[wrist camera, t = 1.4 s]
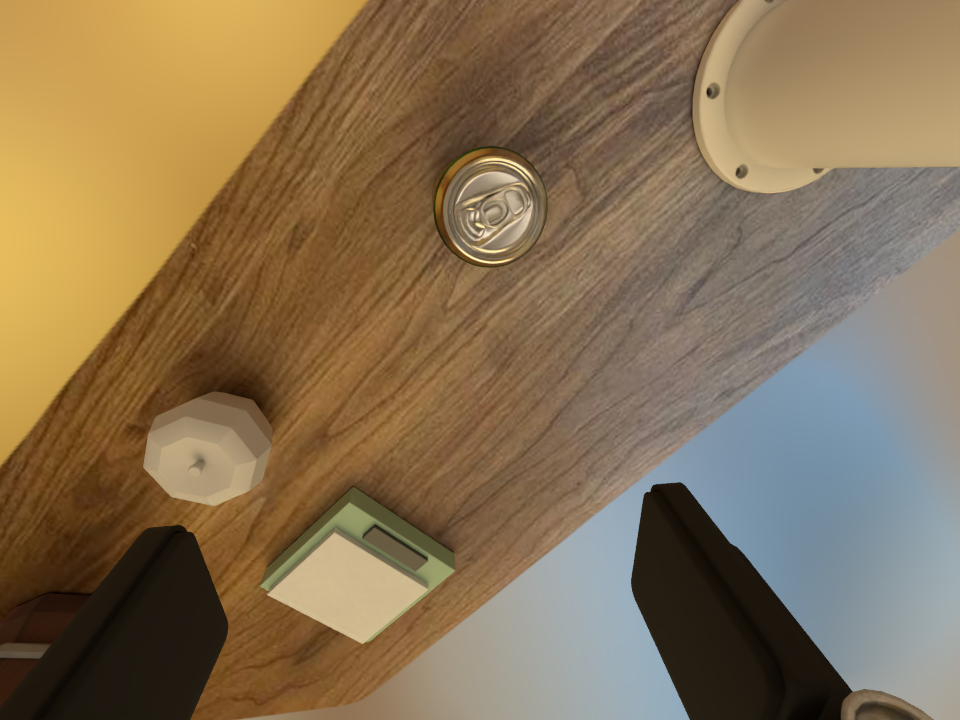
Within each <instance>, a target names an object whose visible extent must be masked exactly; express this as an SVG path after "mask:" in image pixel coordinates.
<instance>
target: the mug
mask: <svg viewBox="0 0 960 720" xmlns="http://www.w3.org/2000/svg"><path fill="white" fill-rule="evenodd" d="M89 597H90V595H69V594H48V593H47V594H45V595H43V596H41V597H38V598H36V599H34V600H31V601H29V602H27V603H25V604H22V605H20V606H18V607H16V608H13V609H11V610H10V611H9V612H8V613H7V614H6V615H5V616H4V618H3V619H2V620H1V621H0V707H1V706H2V705H3V703H4V702H5V701H6V700H7V699H8V697H9V696H10V695H11V694H12V692H13V691H14V690H15V689H16V687H17V686H18V685H19V684H20V683H21V681H22V680H23V679H24V678H25V676H26V675H27V674H28V673H29V671H30V670H31V669H32V668H33V666H34V665H35V664H36V663H37V662H38V660H39V659H40V658H41V657H42V655H43V654H44V653H45V652H46V650H47V649H48V648H49V647H50V645H51V644H52V643H53V642H54V641H55V639H56V638H57V637H58V636H59V634H60V633H61V632H62V631H63V629H64V628H65V627H66V626H67V625H68V623H69V622H70V621H71V620H72V618H73V617H74V616H75V615H76V613H77V612H78V611H79V610H80V608H81V607H82V606H83V605H84V604H85V602H86V601H87V600H88V599H89Z"/></svg>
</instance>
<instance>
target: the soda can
mask: <svg viewBox="0 0 960 720" xmlns="http://www.w3.org/2000/svg"><path fill="white" fill-rule="evenodd" d="M432 201H433V211H434V219H435V223H436V227H437V230H438V232H439V235H440V237H441V239H442V240H443V242H444V243H445V245H446V246H447V247H448V248H449V250H450V251H451V252H452V253H453V254H455V255H456V256H457V257H458V258H460V259H461V260H463V261H465V262H467V263H469V264H472V265H475V266H479V267H489V268H492V267H500V266H504V265H508V264H510V263H512V262H514V261H516V260H518V259H520V258H521V257H523V256H524V255H525V254H526V253H527V252H528V251H530V250H531V248H532V247H533V246H534V245H535V244H536V242H537V240H538V239H539V237H540V235H541V233H542V231H543V228H544V226H545V222H546V218H547V210H548V206H547V195H546V190H545V187H544V184H543V181H542V179H541V177H540V175H539V173H538V172H537V170H536V169H535V168H534V166H533V165H532V164H531V163H530V162H529V161H528V160H527V159H526V158H524V157H523V156H521V155H520V154H518V153H516V152H514V151H512V150H510V149H506V148H502V147H494V146H488V147H480V148H477V149H473V150H471V151H469V152H467V153H464V154H462V155H461V156H459V157H457V158H455V159H453V160H451V161H450V162H449V163H447V164H446V165H445V166H444V167H443V168H442V169H441V171H440V172H439V173H438V175H437V177H436V179H435V182H434V185H433V191H432Z"/></svg>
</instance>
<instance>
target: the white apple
mask: <svg viewBox="0 0 960 720" xmlns="http://www.w3.org/2000/svg"><path fill="white" fill-rule="evenodd" d="M272 436H273V429H272V427H271V425H270V423H269V422H268V420H267V419H266V417H265V416H264V414H263V413H262V412H261V410H260V409H259V408H258V406H257V405H256V403H255V402H254V401H253V400H252V399H248V398H244V397H240V396H236V395H232V394H228V393H223V392H215V391H214V392H211V393H208V394H206V395H203V396H200V397H198V398H195V399H193V400H191V401H189V402H187V403H184V404H182V405H180V406H178V407H176V408H174V409H171V410H169V411H167V412H165V413H163V414H160V415H158V416H156V418H155V420H154V422H153V424H152V426H151V429H150V431H149V433H148V439H147V446H146V452H145V459H144V465H143V468H144V469H145V470H146V471H147V472H148V473H149V474H150V475H151V476H152V477H153V478H154V479H155V480H156V481H157V482H158V483H159V485H160V486H161V487H162V488H163V489H164V490H165V491H166V492H167V493H168V494H169V495H170V496H171V497H174V498H179V499H183V500H188V501H193V502H198V503H202V504H207V505H212V506H215V505H218V504H220V503H222V502H225V501H227V500H229V499H231V498H234V497H236V496H238V495H241V494H243V493H245V492H248V491H249V490H251V489H252V488H253V487H254V486H255V485H257V484H258V483H259V482H260V481H261V480H263V476H264V472H265V469H266V465H267V462H268V458H269V454H270V451H271V447H272Z"/></svg>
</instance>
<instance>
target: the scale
mask: <svg viewBox="0 0 960 720" xmlns="http://www.w3.org/2000/svg"><path fill="white" fill-rule="evenodd" d="M454 571H455V556H454V553H453V552H451V551H450V550H448V549H447V548H445V547H444V546H442V545H441V544H439V543H438V542H436V541H435V540H433V539H432V538H430V537H429V536H427V535H426V534H424V533H423V532H421V531H420V530H418V529H417V528H415V527H414V526H412V525H411V524H409V523H408V522H406V521H405V520H403V519H402V518H400V517H399V516H397V515H396V514H394V513H393V512H391V511H390V510H388V509H386V508H385V507H383V506H382V505H380V504H379V503H377V502H376V501H374V500H373V499H371V498H370V497H368V496H367V495H365V494H364V493H362V492H361V491H359V490H358V489H356V488H355V487H352V488H351V489H350V490H349V491H348V492H347V493H346V494H345V495H344V496H343V497H342V498H340V499H339V500H338V501H337V502H336V503H335V504H334V505H333V506H332V507H331V508H330V509H329V510H328V511H327V512H326V513H325V514H323V515H322V516H321V517H320V518H319V519H318V520H317V521H316V522H315V523H314V524H313V525H312V526H311V527H310V528H309V529H308V530H307V531H305V532H304V533H303V534H302V535H301V536H300V537H299V538H298V539H297V540H296V541H295V542H294V543H293V544H292V545H291V546H290V547H289V548H287V549H286V550H285V551H284V552H283V553H282V554H281V555H280V556H279V557H278V558H277V559H276V560H275V561H274V562H273V563H272V564H271V565H269V566H268V567H267V569H266V571H265V574H264V576H263V579H262V581H261V584H260V587H262V588H264V589H265V590H267V591H268V593H267V595H269V596H270V597H272V598H274V599H276V600H278V601H280V602H282V603H284V604H286V605H288V606H290V607H292V608H294V609H296V610H298V611H300V612H302V613H304V614H306V615H307V616H309V617H311V618H313V619H315V620H317V621H319V622H321V623H323V624H325V625H327V626H329V627H331V628H333V629H335V630H337V631H339V632H341V633H343V634H344V635H346V636H348V637H350V638H352V639H354V640H356V641H358V642H360V643H362V644H363V643H364V642H369V641H371V640H372V639H373V638H374V637H376V636H377V635H378V634H379V633H380V632H382V631H383V630H384V629H385V628H386V627H388V626H389V625H390V624H391V623H393V622H394V621H395V620H396V619H397V618H399V617H400V616H401V615H402V614H403V613H405V612H406V611H407V610H408V609H410V608H411V607H412V606H413V605H414V604H416V603H417V602H418V601H419V600H420V599H422V598H423V597H424V596H425V595H427V594H428V593H429V592H430V591H431V590H433V589H434V588H435V587H436V586H437V585H439V584H440V583H441V582H442V581H444V580H445V579H446V578H447V577H448V576H450V575H451V574H452V573H453V572H454Z"/></svg>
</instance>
